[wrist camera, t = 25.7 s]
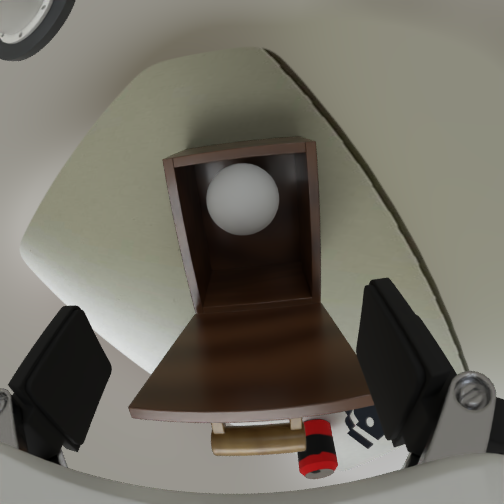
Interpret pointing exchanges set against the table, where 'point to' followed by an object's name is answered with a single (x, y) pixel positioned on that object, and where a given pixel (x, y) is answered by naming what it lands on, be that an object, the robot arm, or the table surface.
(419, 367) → the robot arm
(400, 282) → the table surface
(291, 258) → the chest
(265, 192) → the lightbulb
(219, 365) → the lid
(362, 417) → the logo
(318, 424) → the soda can
